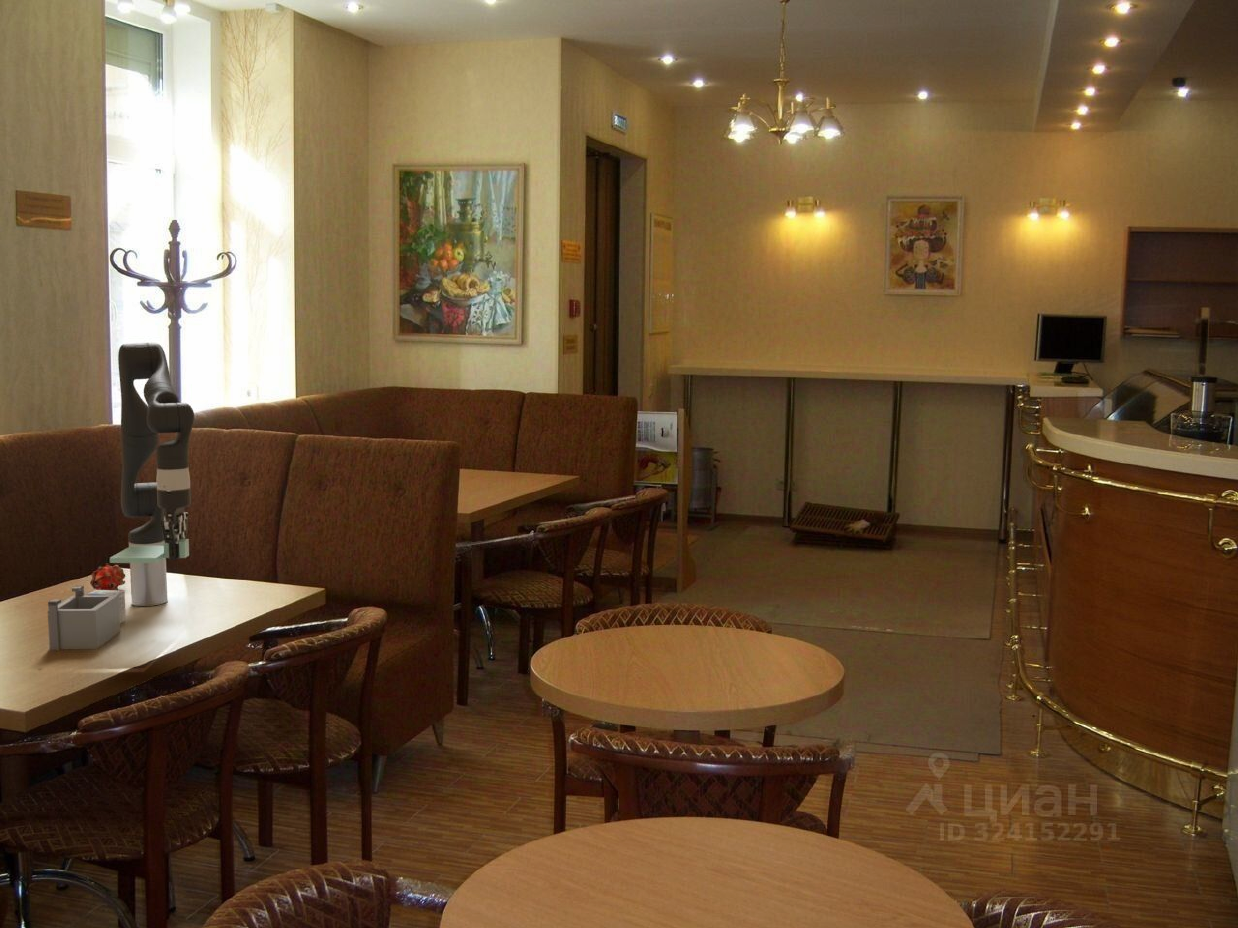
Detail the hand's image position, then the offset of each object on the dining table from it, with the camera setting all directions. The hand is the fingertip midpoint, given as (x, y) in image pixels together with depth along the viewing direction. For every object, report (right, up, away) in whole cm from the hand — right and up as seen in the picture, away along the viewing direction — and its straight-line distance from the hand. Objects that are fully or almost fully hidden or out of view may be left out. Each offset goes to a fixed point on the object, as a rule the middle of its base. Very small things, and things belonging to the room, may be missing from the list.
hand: (176, 557), depth 289 cm
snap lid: (-5, 0, 0) cm, 5 cm away
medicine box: (-25, -19, +19) cm, 37 cm away
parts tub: (-23, -21, +3) cm, 31 cm away
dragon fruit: (-40, -14, +54) cm, 69 cm away
